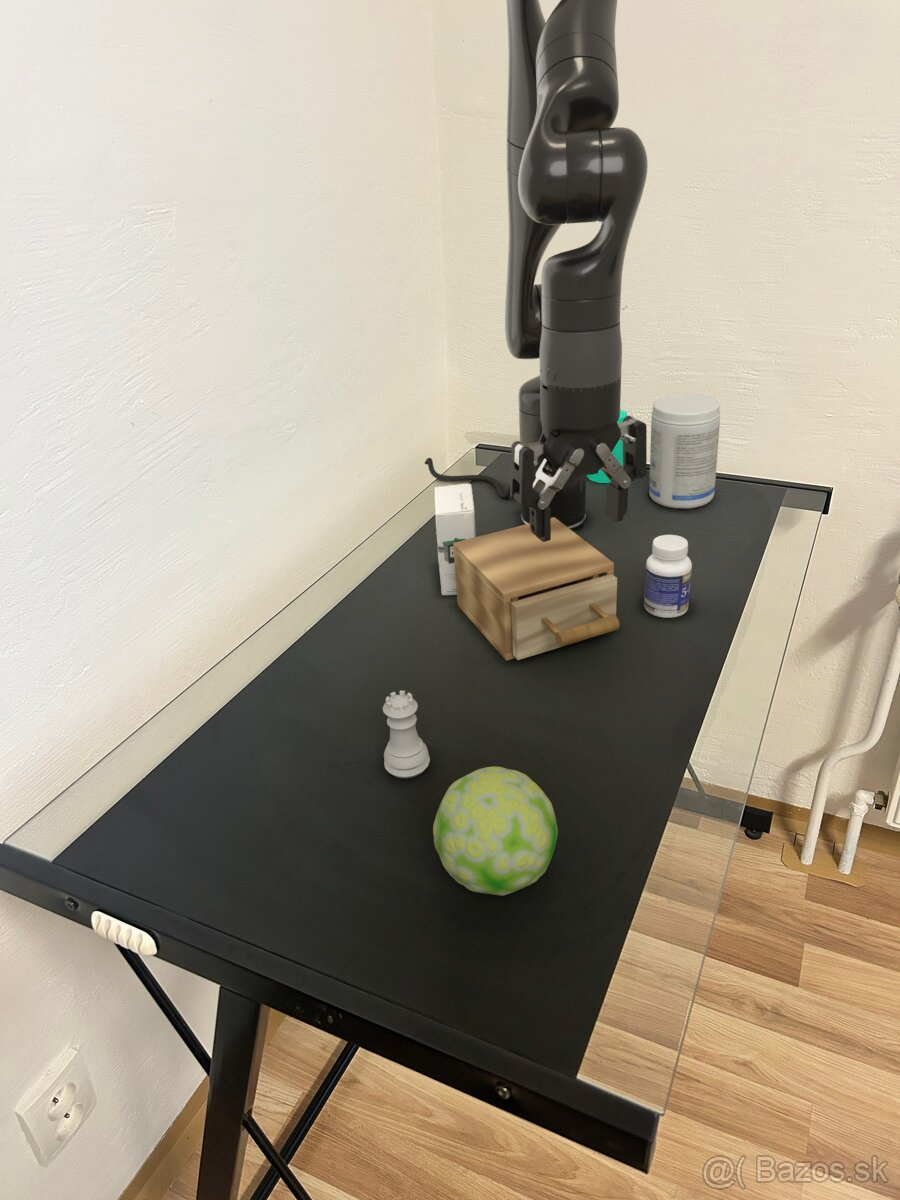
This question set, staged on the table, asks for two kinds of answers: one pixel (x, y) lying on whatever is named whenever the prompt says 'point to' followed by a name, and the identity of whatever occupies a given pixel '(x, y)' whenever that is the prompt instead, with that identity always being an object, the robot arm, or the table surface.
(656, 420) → the supplement tub
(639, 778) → the table surface
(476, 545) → the cabinet
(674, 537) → the pill bottle
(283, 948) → the table surface
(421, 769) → the rook chess piece
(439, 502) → the ink box
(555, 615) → the drawer
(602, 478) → the candle
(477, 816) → the decorative ball
